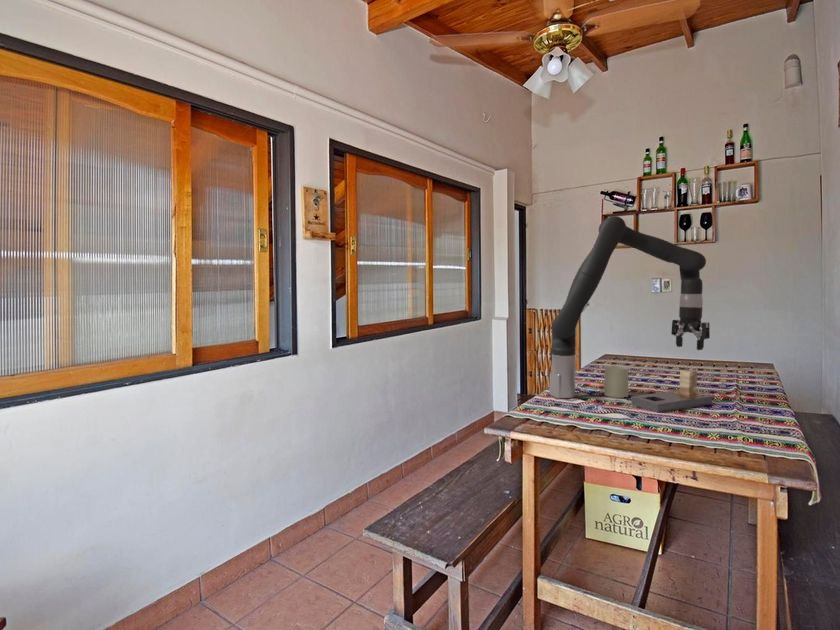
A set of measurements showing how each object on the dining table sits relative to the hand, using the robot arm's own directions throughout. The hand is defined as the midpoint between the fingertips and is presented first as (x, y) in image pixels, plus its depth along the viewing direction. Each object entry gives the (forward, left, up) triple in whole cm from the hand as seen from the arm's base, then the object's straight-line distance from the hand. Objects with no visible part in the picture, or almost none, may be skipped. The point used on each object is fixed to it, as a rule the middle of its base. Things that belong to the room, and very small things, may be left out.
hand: (689, 348), depth 175 cm
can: (-17, +19, -21) cm, 33 cm away
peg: (0, 0, -21) cm, 21 cm away
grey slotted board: (-8, 0, -21) cm, 22 cm away
